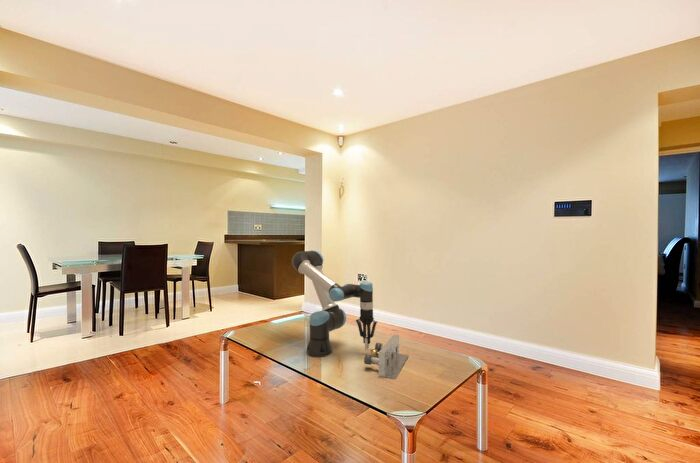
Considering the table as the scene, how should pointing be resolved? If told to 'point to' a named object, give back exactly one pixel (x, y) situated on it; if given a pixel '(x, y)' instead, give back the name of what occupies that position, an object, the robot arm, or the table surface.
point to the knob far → (378, 346)
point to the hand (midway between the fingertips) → (366, 348)
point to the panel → (391, 358)
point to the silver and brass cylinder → (374, 353)
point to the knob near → (370, 359)
